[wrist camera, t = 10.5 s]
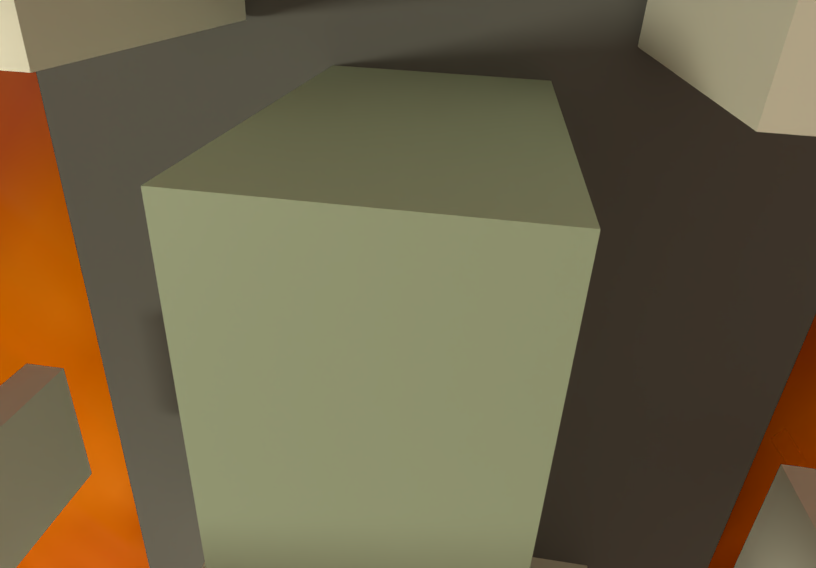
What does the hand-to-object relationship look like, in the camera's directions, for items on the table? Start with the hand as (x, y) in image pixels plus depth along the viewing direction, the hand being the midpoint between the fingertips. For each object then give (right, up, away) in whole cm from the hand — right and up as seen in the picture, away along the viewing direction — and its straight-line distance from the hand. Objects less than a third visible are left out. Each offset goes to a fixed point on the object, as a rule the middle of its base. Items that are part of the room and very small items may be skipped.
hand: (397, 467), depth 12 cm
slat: (0, +1, +2) cm, 2 cm away
